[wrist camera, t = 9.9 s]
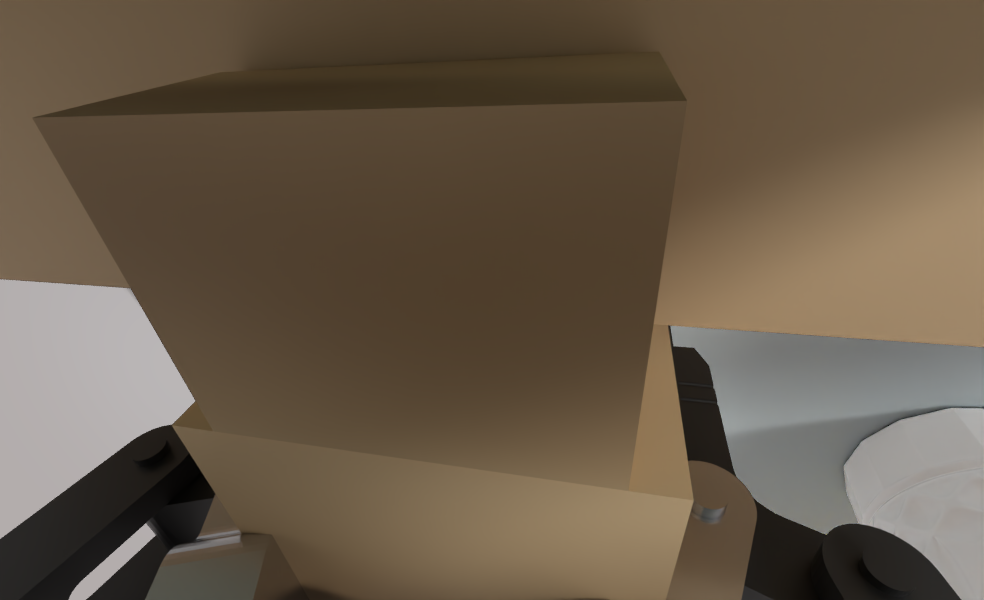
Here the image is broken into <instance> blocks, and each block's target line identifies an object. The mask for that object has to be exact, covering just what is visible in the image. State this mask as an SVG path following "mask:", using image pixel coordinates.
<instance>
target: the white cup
mask: <svg viewBox="0 0 984 600" xmlns="http://www.w3.org/2000/svg"><path fill="white" fill-rule="evenodd" d="M844 476H845V485H846V492H847V495H848V498H849V500H850V503H851V506H852V508H853V511H854V513H855V516H856V518H857V521H858V523H859V524H862V525H868V526H872V527H875V528H879V529H882V530H884V531H886V532H889V533H891V534H893V535H895V536H897V537H899V538H901V539H902V540H904V541H905V542H907V543H909V544H910V545H912V546H913V547H914V548H916V549H917V550H918V551H919V552H921V553H922V554H923V555H924V556H925V557H926V558H927V559H928V560H929V561H930V562H931V563H932V564H933V565H934V566H935V567H936V568H937V569H938V571H939V572H940V573H941V574H942V576H943V577H944V578H945V579H946V581H947V582H948V583H949V585H950V586H951V587H952V588H953V590H954V591H955V592H956V593H957V595H958V596H959V597H960V599H961V600H984V408H948V409H944V410H940V411H935V412H931V413H927V414H922V415H918V416H914V417H910V418H906V419H902V420H899V421H897V422H895V423H893V424H891V425H889V426H887V427H886V428H884V429H882V430H880V431H878V432H877V433H875V434H873V435H871V436H870V437H868V438H866V439H864V440H863V441H861V443H860V444H859V445H858V447H857V448H856V450H855V451H854V452H853V454H852V455H851V456H850V458H849V459H848V461H847V462H846V463H845V465H844Z"/></svg>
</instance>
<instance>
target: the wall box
mask: <svg viewBox="0 0 984 600" xmlns="http://www.w3.org/2000/svg"><path fill="white" fill-rule="evenodd" d="M686 106H687V100H686V98H685V96H684V94H683V93H682V91H681V89H680V87H679V86H678V84H677V82H676V80H675V78H674V77H673V75H672V73H671V71H670V70H669V68H668V66H667V64H666V63H665V61H664V59H663V57H662V55H661V54H660V52H639V53H618V54H597V55H575V56H554V57H533V58H512V59H490V60H469V61H448V62H426V63H405V64H384V65H363V66H341V67H320V68H299V69H277V70H256V71H235V72H218V73H214V74H210V75H206V76H202V77H198V78H194V79H190V80H185V81H181V82H177V83H173V84H169V85H165V86H161V87H157V88H152V89H148V90H144V91H140V92H136V93H132V94H128V95H123V96H119V97H115V98H111V99H107V100H103V101H99V102H95V103H90V104H86V105H82V106H78V107H74V108H70V109H66V110H62V111H57V112H53V113H49V114H45V115H41V116H37V117H33V118H32V119H33V120H34V122H35V124H36V125H37V127H38V129H39V131H40V132H41V134H42V136H43V138H44V139H45V141H46V143H47V144H48V146H49V148H50V150H51V151H52V153H53V155H54V157H55V158H56V160H57V162H58V164H59V165H60V167H61V169H62V170H63V172H64V174H65V176H66V177H67V179H68V181H69V183H70V184H71V186H72V188H73V189H74V191H75V193H76V195H77V196H78V198H79V200H80V202H81V203H82V205H83V207H84V209H85V210H86V212H87V214H88V215H89V217H90V219H91V221H92V222H93V224H94V226H95V228H96V229H97V231H98V233H99V234H100V236H101V238H102V240H103V241H104V243H105V245H106V247H107V248H108V250H109V252H110V254H111V255H112V257H113V259H114V260H115V262H116V264H117V266H118V267H119V269H120V271H121V273H122V274H123V276H124V278H125V279H126V281H127V283H128V285H129V286H130V288H131V290H132V292H133V293H134V295H135V297H136V299H137V300H138V302H139V304H140V305H141V307H142V309H143V311H144V312H145V314H146V316H147V317H148V319H149V321H150V323H151V324H152V326H153V328H154V330H155V331H156V333H157V335H158V337H159V338H160V340H161V342H162V344H163V345H164V347H165V349H166V350H167V352H168V354H169V355H170V357H171V359H172V361H173V363H174V364H175V366H176V367H177V369H178V371H179V373H180V375H181V376H182V378H183V380H184V382H185V383H186V385H187V387H188V389H189V390H190V392H191V393H192V395H193V397H194V399H195V402H194V403H193V404H192V405H191V406H190V407H189V408H188V409H187V410H186V411H185V412H184V414H182V416H180V418H178V419H177V420H176V421H175V422H174V423H173V424H172V427H173V428H174V430H175V431H176V433H177V434H178V436H179V438H180V439H181V441H182V442H183V444H184V445H185V447H186V448H187V450H188V452H189V453H190V455H191V456H192V458H193V459H194V461H195V462H196V464H197V466H198V467H199V469H200V470H201V472H202V473H203V475H204V476H205V478H206V480H207V481H208V483H209V484H210V486H211V487H212V489H213V490H214V492H215V494H216V495H217V497H218V498H219V500H220V501H221V503H222V504H223V506H224V508H225V509H226V511H227V512H228V514H229V515H230V517H231V519H232V520H233V522H234V523H235V525H236V526H237V528H238V529H239V531H240V533H258V534H272V536H273V537H274V539H275V541H276V543H277V544H278V546H279V548H280V549H281V551H282V553H283V555H284V556H285V558H286V560H287V562H288V563H289V565H290V567H291V568H292V570H293V572H294V574H295V575H296V577H297V579H298V580H299V582H300V584H301V586H302V587H303V589H304V591H305V593H306V594H307V596H308V598H309V599H310V600H608V599H609V600H666V597H667V594H668V590H669V587H670V583H671V580H672V576H673V572H674V569H675V565H676V562H677V558H678V555H679V551H680V547H681V544H682V540H683V537H684V533H685V530H686V526H687V522H688V519H689V515H690V512H691V508H692V505H693V501H694V499H693V493H692V486H691V479H690V472H689V465H688V459H687V452H686V445H685V438H684V431H683V424H682V418H681V411H680V404H679V397H678V390H677V384H676V377H675V370H674V363H673V356H672V350H671V343H670V336H669V329H668V325H656V324H654V318H655V312H656V305H657V298H658V292H659V285H660V279H661V272H662V265H663V259H664V252H665V245H666V239H667V232H668V225H669V219H670V212H671V206H672V199H673V192H674V186H675V179H676V172H677V166H678V159H679V152H680V146H681V139H682V133H683V126H684V119H685V113H686Z"/></svg>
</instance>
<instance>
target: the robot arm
mask: <svg viewBox="0 0 984 600" xmlns="http://www.w3.org/2000/svg"><path fill="white" fill-rule="evenodd" d="M668 329H669V336H670V343H671V350H672V356H673V363H674V370H675V377H676V384H677V390H678V397H679V404H680V411H681V418H682V424H683V431H684V438H685V445H686V452H687V459H688V465H689V472H690V479H691V486H692V493H693V499H694V501H693V505H692V508H691V512H690V515H689V519H688V522H687V526H686V530H685V533H684V537H683V540H682V544H681V547H680V551H679V555H678V558H677V562H676V565H675V569H674V572H673V576H672V580H671V583H670V587H669V590H668V594H667V597H666V600H961V599H960V597H959V596H958V595H957V593H956V592H955V591H954V590H953V588H952V587H951V586H950V585H949V583H948V582H947V581H946V579H945V578H944V577H943V576H942V574H941V573H940V572H939V571H938V569H937V568H936V567H935V566H934V565H933V564H932V563H931V562H930V561H929V560H928V559H927V558H926V557H925V556H924V555H923V554H922V553H921V552H919V551H918V550H917V549H916V548H914V547H913V546H912V545H910V544H909V543H907V542H905V541H904V540H902V539H901V538H899V537H897V536H895V535H893V534H891V533H889V532H886V531H884V530H882V529H879V528H875V527H872V526H868V525H862V524H846V525H841V526H838V527H835V528H834V529H832V530H831V531H830V532H829V533H828V534H827V535H825V534H822V533H820V532H817V531H815V530H813V529H810V528H808V527H805V526H803V525H800V524H798V523H796V522H793V521H791V520H788V519H786V518H784V517H781V516H779V515H777V514H775V513H773V512H772V511H770V510H768V509H767V508H765V507H764V506H762V505H761V504H760V503H758V502H757V501H756V500H755V499H754V498H753V497H752V495H751V493H750V492H749V490H748V489H747V488H746V486H745V485H744V484H743V483H742V482H741V481H740V480H739V479H738V478H737V477H736V475H735V472H734V469H733V466H732V462H731V457H730V453H729V449H728V445H727V441H726V436H725V432H724V428H723V424H722V419H721V415H720V411H719V407H718V405H717V398H716V394H715V390H714V389H713V381H712V377H711V373H710V369H709V365H708V364H707V363H706V362H705V360H704V359H703V358H702V357H701V356H700V354H699V353H698V352H697V351H696V350H695V348H687V347H674V346H673V342H672V336H671V329H670V325H668ZM145 523H147V525H148V526H149V527H150V528H151V530H152V531H153V532H154V533H155V534H156V536H155V537H154V538H153V539H152V540H150V541H149V542H148V543H147V544H146V545H145V546H144V547H143V548H142V549H141V550H140V551H139V552H138V553H137V554H135V555H134V556H133V557H132V558H131V559H130V560H129V561H128V562H127V563H126V564H125V565H124V566H123V567H121V568H120V569H119V570H118V571H117V572H116V573H115V574H114V575H113V576H112V577H111V578H110V579H109V580H107V581H106V583H104V584H103V585H102V586H101V587H100V588H99V589H98V590H97V591H96V592H95V593H93V595H91V596H90V597H89V598H88V599H86V600H310V599H309V598H308V596H307V594H306V593H305V591H304V589H303V587H302V586H301V584H300V582H299V580H298V579H297V577H296V575H295V574H294V572H293V570H292V568H291V567H290V565H289V563H288V562H287V560H286V558H285V556H284V555H283V553H282V551H281V549H280V548H279V546H278V544H277V543H276V541H275V539H274V537H273V536H272V534H258V533H240V531H239V529H238V528H237V526H236V525H235V523H234V522H233V520H232V519H231V517H230V515H229V514H228V512H227V511H226V509H225V508H224V506H223V504H222V503H221V501H220V500H219V498H218V497H217V495H216V494H215V492H214V490H213V489H212V487H211V486H210V484H209V483H208V481H207V480H206V478H205V476H204V475H203V473H202V472H201V470H200V469H199V467H198V466H197V464H196V462H195V461H194V459H193V458H192V456H191V455H190V453H189V452H188V450H187V448H186V447H185V445H184V444H183V442H182V441H181V439H180V438H179V436H178V434H177V433H176V431H175V430H174V428H173V427H172V425H167V426H162V427H159V428H156V429H153V430H151V431H148V432H146V433H144V434H142V435H141V436H139V437H137V438H136V439H134V440H133V441H131V442H130V443H129V444H127V445H126V446H124V448H122V449H120V450H119V451H118V452H117V453H115V454H114V455H112V456H111V457H110V458H108V459H107V460H106V461H104V462H103V463H102V464H100V465H99V466H98V467H96V468H95V469H94V470H92V471H91V472H90V473H88V474H87V475H86V476H84V477H83V478H82V479H80V480H79V481H78V482H76V483H75V484H74V485H72V486H71V487H70V488H68V489H67V490H66V491H64V492H63V493H62V494H60V495H59V496H57V497H56V498H55V499H53V500H52V501H51V502H49V503H48V504H47V505H46V506H44V507H43V508H41V509H40V510H39V511H37V512H36V513H35V514H33V515H32V516H31V517H30V518H28V519H27V520H25V521H24V522H23V523H21V524H20V525H19V526H17V527H16V528H15V529H13V530H12V531H11V532H9V533H8V534H7V535H5V536H4V537H3V538H1V539H0V600H68V599H69V597H70V595H71V593H72V591H73V590H74V588H75V587H76V586H77V585H78V584H79V582H80V581H81V580H83V579H84V578H85V577H86V576H87V575H88V574H89V573H90V572H92V571H93V570H94V569H95V568H96V567H97V566H98V565H99V564H100V563H102V562H103V561H104V560H105V559H106V558H107V557H108V556H109V555H110V554H112V553H113V552H114V551H115V550H116V549H117V548H118V547H120V546H121V545H122V544H123V543H124V542H125V541H126V540H127V539H128V538H130V537H131V536H132V535H133V534H134V533H135V532H136V531H137V530H139V528H141V527H142V526H143V525H144V524H145ZM608 600H609V599H608Z"/></svg>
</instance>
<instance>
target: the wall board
mask: <svg viewBox="0 0 984 600" xmlns="http://www.w3.org/2000/svg"><path fill="white" fill-rule="evenodd" d="M639 52H660V54H661V55H662V57H663V59H664V61H665V63H666V64H667V66H668V68H669V70H670V71H671V73H672V75H673V77H674V78H675V80H676V82H677V84H678V86H679V87H680V89H681V91H682V93H683V94H684V96H685V98H686V100H687V106H686V113H685V119H684V126H683V133H682V139H681V146H680V152H679V159H678V166H677V172H676V179H675V186H674V192H673V199H672V206H671V212H670V219H669V225H668V232H667V239H666V245H665V252H664V259H663V265H662V272H661V279H660V285H659V292H658V298H657V305H656V312H655V318H654V324H656V325H670V326H685V327H699V328H714V329H728V330H743V331H757V332H771V333H786V334H800V335H815V336H829V337H844V338H858V339H873V340H887V341H901V342H916V343H930V344H945V345H959V346H974V347H984V0H0V279H6V280H21V281H35V282H51V283H64V284H78V285H93V286H108V287H122V288H130V286H129V285H128V283H127V281H126V279H125V278H124V276H123V274H122V273H121V271H120V269H119V267H118V266H117V264H116V262H115V260H114V259H113V257H112V255H111V254H110V252H109V250H108V248H107V247H106V245H105V243H104V241H103V240H102V238H101V236H100V234H99V233H98V231H97V229H96V228H95V226H94V224H93V222H92V221H91V219H90V217H89V215H88V214H87V212H86V210H85V209H84V207H83V205H82V203H81V202H80V200H79V198H78V196H77V195H76V193H75V191H74V189H73V188H72V186H71V184H70V183H69V181H68V179H67V177H66V176H65V174H64V172H63V170H62V169H61V167H60V165H59V164H58V162H57V160H56V158H55V157H54V155H53V153H52V151H51V150H50V148H49V146H48V144H47V143H46V141H45V139H44V138H43V136H42V134H41V132H40V131H39V129H38V127H37V125H36V124H35V122H34V120H33V119H32V118H33V117H37V116H41V115H45V114H49V113H53V112H57V111H62V110H66V109H70V108H74V107H78V106H82V105H86V104H90V103H95V102H99V101H103V100H107V99H111V98H115V97H119V96H123V95H128V94H132V93H136V92H140V91H144V90H148V89H152V88H157V87H161V86H165V85H169V84H173V83H177V82H181V81H185V80H190V79H194V78H198V77H202V76H206V75H210V74H214V73H218V72H235V71H256V70H277V69H299V68H320V67H341V66H363V65H384V64H405V63H426V62H448V61H469V60H490V59H512V58H533V57H554V56H575V55H597V54H618V53H639Z"/></svg>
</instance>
